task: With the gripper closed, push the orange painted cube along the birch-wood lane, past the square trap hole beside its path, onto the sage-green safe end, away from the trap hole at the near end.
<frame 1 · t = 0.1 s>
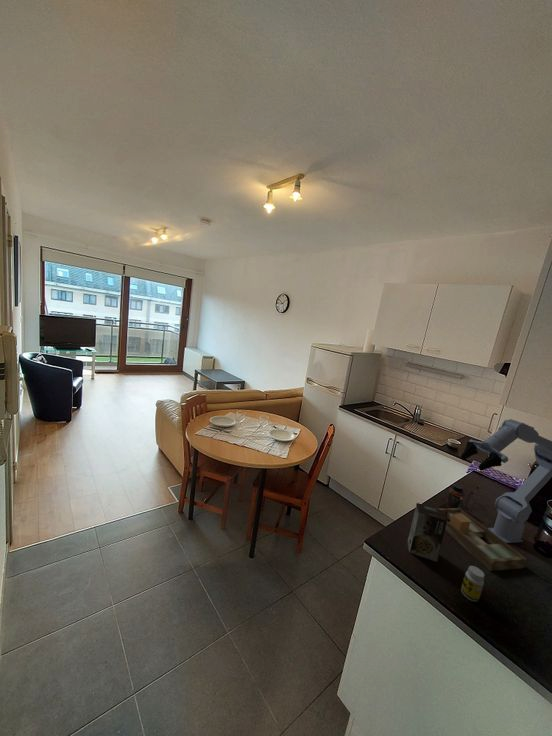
hand: (470, 463, 108), 32 cm above the counter, tool tilted 50°, fingers open, 7 cm apart
block: (458, 527, 116), point 2 cm above the counter, touching trap box
trap box: (472, 539, 114), on the counter
supplement bottle: (452, 508, 135), on the counter
coffee box: (421, 551, 103), on the counter
supplement bottle 2: (469, 595, 87), on the counter
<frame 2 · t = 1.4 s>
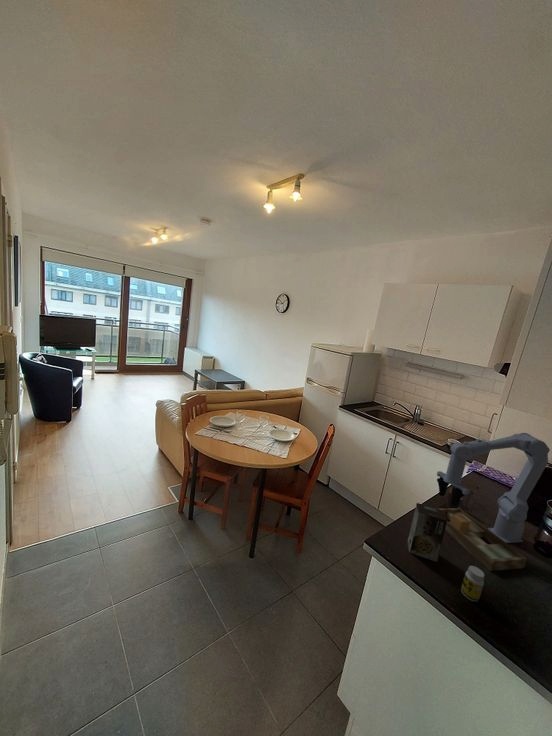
hand: (447, 499, 123), 9 cm above the counter, tool pointing down, fingers open, 6 cm apart
nothing on the counter moved.
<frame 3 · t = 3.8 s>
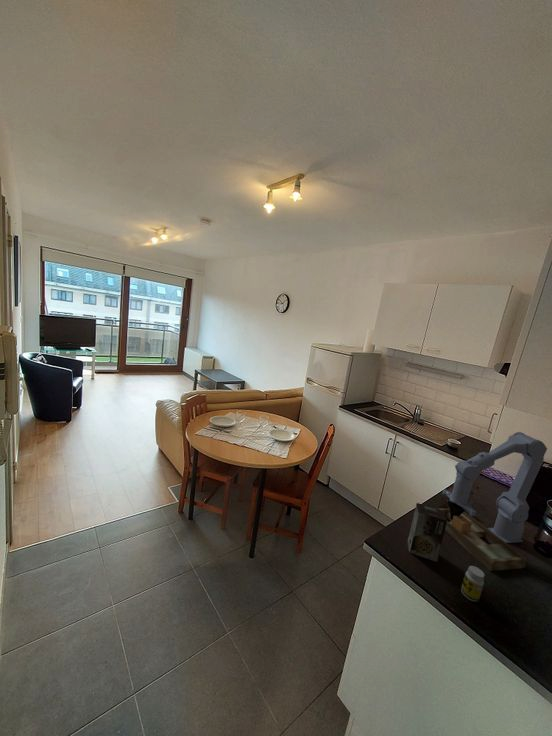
hand: (453, 519, 119), 4 cm above the counter, tool pointing down, fingers closed
block: (460, 528, 116), point 3 cm above the counter, touching gripper
everything else where it was.
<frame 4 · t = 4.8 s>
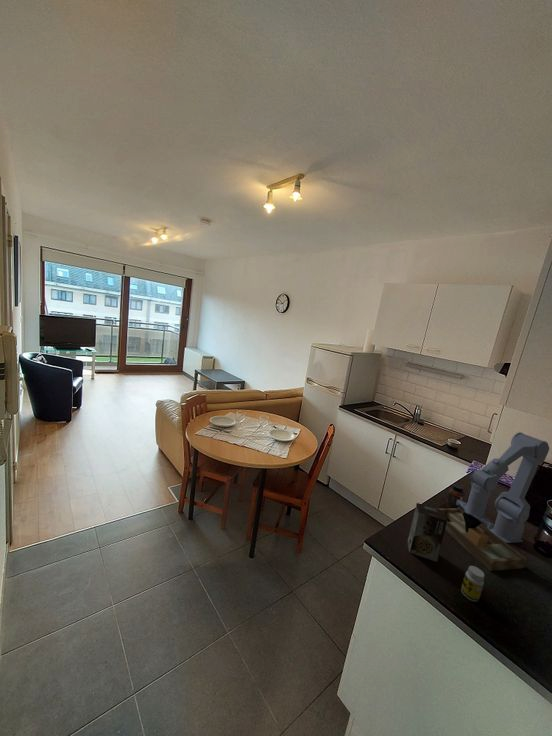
hand: (468, 532, 112), 4 cm above the counter, tool pointing down, fingers closed
block: (476, 541, 109), point 3 cm above the counter, touching gripper
everything else where it was.
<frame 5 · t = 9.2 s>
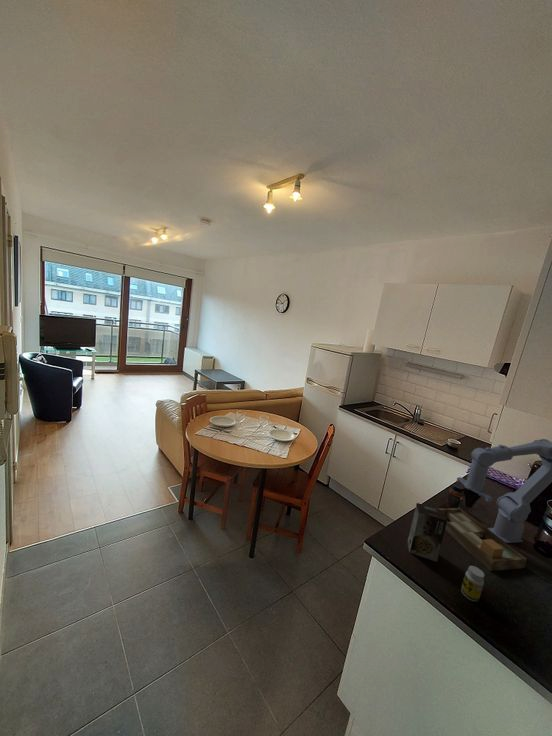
hand: (468, 506, 120), 9 cm above the counter, tool pointing down, fingers closed
block: (490, 553, 103), point 2 cm above the counter, touching trap box
everything else where it was.
at the end: block 1.0 cm from the target spot on the trap box, point 2.5 cm above the trap box's base; block tilted 0° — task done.
